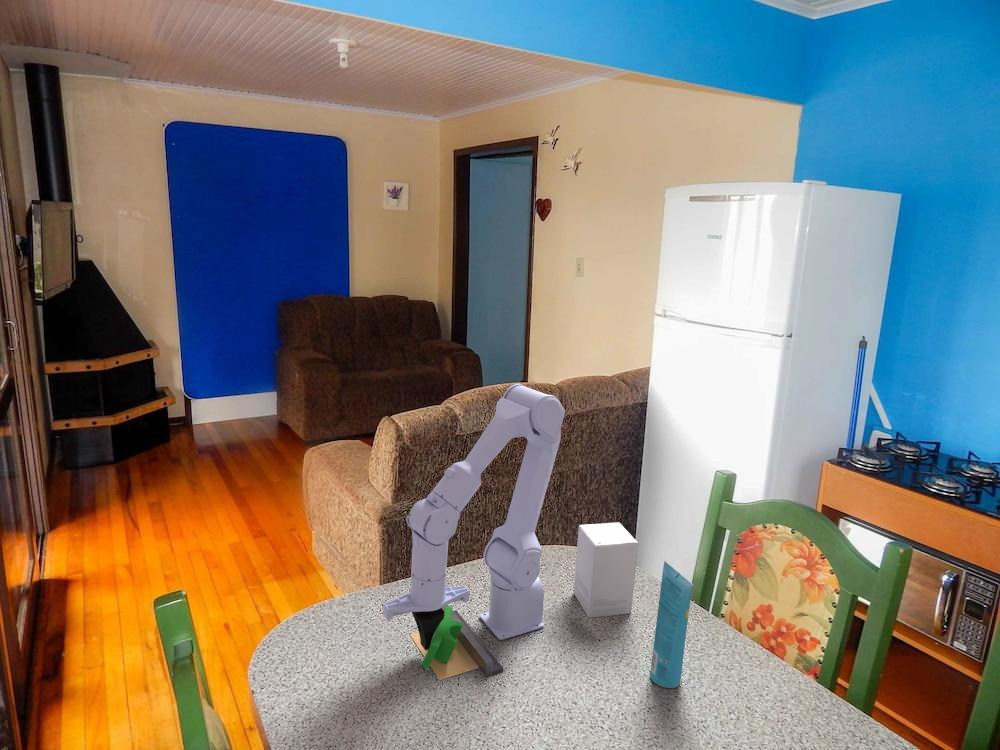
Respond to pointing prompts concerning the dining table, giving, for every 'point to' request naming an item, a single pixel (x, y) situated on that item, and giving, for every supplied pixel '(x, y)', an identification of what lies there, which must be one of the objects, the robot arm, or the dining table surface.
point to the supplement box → (605, 569)
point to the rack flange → (463, 653)
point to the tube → (670, 628)
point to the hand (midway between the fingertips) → (425, 646)
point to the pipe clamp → (443, 640)
